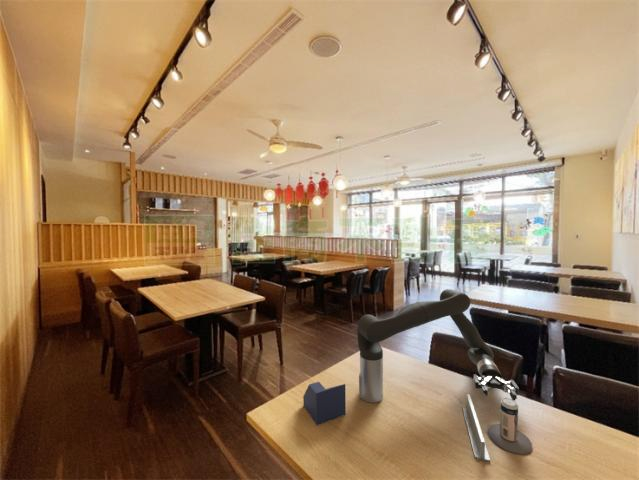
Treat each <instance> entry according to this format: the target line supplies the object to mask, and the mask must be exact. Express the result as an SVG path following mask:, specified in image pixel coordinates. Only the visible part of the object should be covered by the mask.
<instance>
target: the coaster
mask: <svg viewBox="0 0 639 480" xmlns="http://www.w3.org/2000/svg"><path fill="white" fill-rule="evenodd" d="M486 431H487V436H488V438H489V440H491V442H492V443H493V444H495V446H497V447H499V448H500V449H502V450H504V451H505V452H508V453H511V454H514V455H527V454H530V453H531V451H532V450H533V444H532V441H531V440H530V439H529V437H528V436H527V435H526V434H524V433H523V432H522V431H520V430H519V429H518V438H517V440H516V441H509V440H506V439H505V438H503V437H502V436H501V434H500V423H493V424H490V425H489V426H488V428H487V430H486Z"/></svg>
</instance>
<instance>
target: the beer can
mask: <svg viewBox="0 0 639 480" xmlns="http://www.w3.org/2000/svg"><path fill="white" fill-rule="evenodd" d="M499 407H500V412H499V413H500V414H499V424H500V434H501V436H502V437H503V438H505V439H506V440H509V441H516V440H517V438H518V430H519V429H518V428H519V405H518V404H517V402H516V400H512V398H509V397H503V398H502V399H501V400H500V406H499Z"/></svg>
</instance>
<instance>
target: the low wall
mask: <svg viewBox="0 0 639 480" xmlns="http://www.w3.org/2000/svg"><path fill="white" fill-rule="evenodd" d="M465 405H466V406H464V405H462V406H461V409H462V410H461V411H462V413H463V418H464V422H465V425H466V429H467V433H468V437H469V441H470V444H471V448H472V453H473V456H474V460H477V461H481V462H485V463H489V464H491V458H490V454H489V452H488V449H487V446H486V442H485V438H484V435H483V431H482V429H481V428H482V427H481V425H480V422H479V419H478V416H477V413H476V409H475V406H474V403H473V400H472V397H471V395H470V393H466V404H465Z"/></svg>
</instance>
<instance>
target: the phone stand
mask: <svg viewBox="0 0 639 480" xmlns="http://www.w3.org/2000/svg"><path fill="white" fill-rule="evenodd" d="M346 398H347V397H346V384H345V383H343V384H338V385H335V386H331V387H327V388H325V386H323V384H321V382H320V381H316V382H313V383H310V384H308V386H307V389H306V390H305V392H304V394H303V398H302V399H303V401H302V402H303V407H304V409H305V408H306V409H305V410H306V411H308V412H307V413H308V415H309V414H310V415H309V416H310V418H311V417H312V418H311V419H312V420H313V422H314V424H315V425H316V426H319V425H320V426H321V425H322V424H325V423H327V422H331V421H333V420H335V419H338V418H341V417H343V416H345V415H347V413H346V412H347V411H346V408H347V407H346V401H347V400H346Z"/></svg>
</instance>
